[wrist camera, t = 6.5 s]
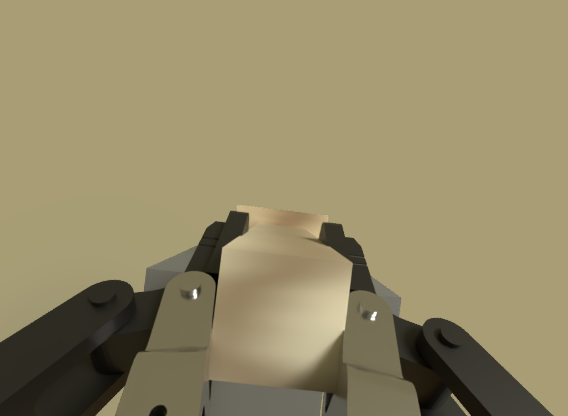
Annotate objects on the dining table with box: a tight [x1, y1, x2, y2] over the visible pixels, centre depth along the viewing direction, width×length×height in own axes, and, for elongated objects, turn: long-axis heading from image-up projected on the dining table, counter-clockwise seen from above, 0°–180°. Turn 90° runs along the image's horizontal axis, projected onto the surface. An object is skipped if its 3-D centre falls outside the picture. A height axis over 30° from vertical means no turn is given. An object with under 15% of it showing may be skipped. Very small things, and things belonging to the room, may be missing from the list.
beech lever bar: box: [209, 205, 353, 393], centre depth 17 cm, size 6×21×4 cm, turn 1°
